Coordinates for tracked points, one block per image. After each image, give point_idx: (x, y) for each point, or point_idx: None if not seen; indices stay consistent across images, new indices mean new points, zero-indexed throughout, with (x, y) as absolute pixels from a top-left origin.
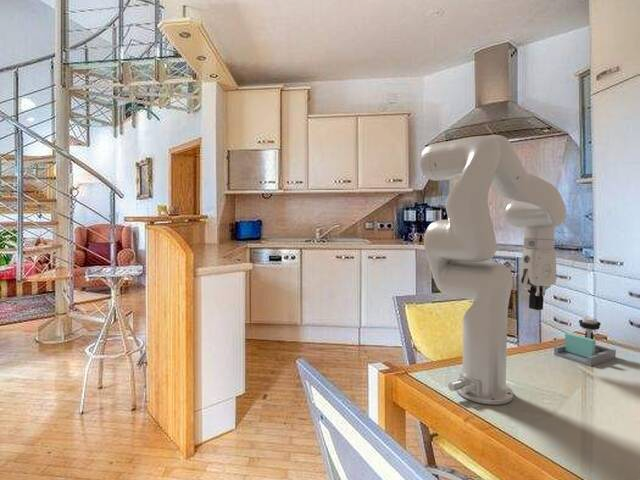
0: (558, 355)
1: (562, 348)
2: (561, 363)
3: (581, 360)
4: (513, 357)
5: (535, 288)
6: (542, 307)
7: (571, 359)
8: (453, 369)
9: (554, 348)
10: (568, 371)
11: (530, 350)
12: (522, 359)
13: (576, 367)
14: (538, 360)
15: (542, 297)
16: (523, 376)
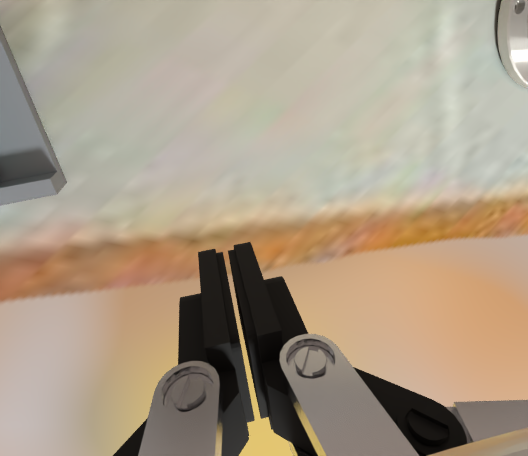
0: (57, 164)
1: (8, 184)
2: (115, 92)
3: (4, 54)
4: (254, 204)
5: (396, 438)
6: (207, 257)
7: (32, 104)
8: (485, 176)
9: (57, 191)
10: (161, 6)
11: (133, 245)
12: (239, 179)
13: (81, 25)
14: (188, 152)
15: (225, 328)
16: (367, 48)
